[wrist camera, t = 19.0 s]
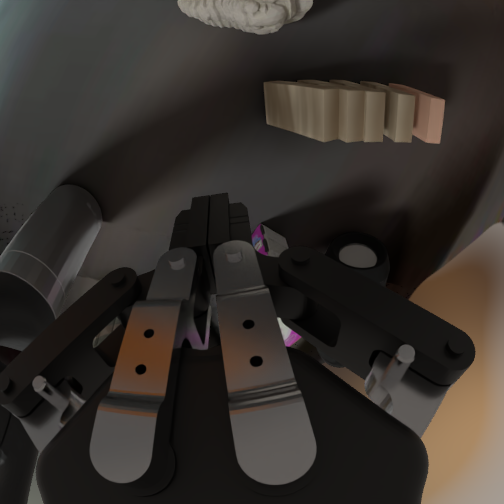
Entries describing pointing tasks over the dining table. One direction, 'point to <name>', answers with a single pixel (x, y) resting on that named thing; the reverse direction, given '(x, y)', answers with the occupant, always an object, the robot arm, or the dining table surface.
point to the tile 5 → (425, 114)
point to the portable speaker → (359, 263)
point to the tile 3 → (370, 111)
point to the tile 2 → (347, 110)
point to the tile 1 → (303, 109)
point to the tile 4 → (396, 112)
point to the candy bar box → (273, 246)
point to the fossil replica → (247, 13)
